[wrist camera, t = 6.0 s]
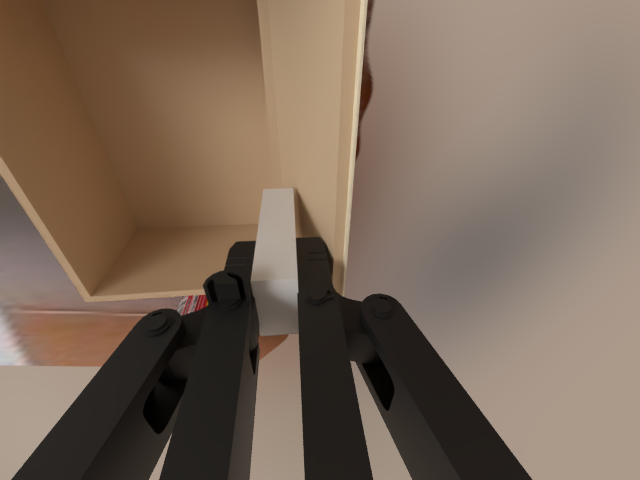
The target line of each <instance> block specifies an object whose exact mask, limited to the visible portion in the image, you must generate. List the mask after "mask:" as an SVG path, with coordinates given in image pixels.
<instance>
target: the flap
mask: <svg viewBox="0 0 640 480" xmlns="http://www.w3.org/2000/svg"><path fill="white" fill-rule="evenodd" d="M367 3H368V0H268V8H269V22H270V35H271V48H272V61H273V75H274V88H275V101H276V115H277V128H278V141H279V155H280V168H281V181H282V188H293V193H294V213H295V233H296V238H303V237H320V238H321V240H322V241H323V242H324V243H325V246H326V251H327V257H328V262H329V268H330V273H331V278H332V284H333V287H334V289H335V290H336V292H337V293H339V294H340V295H341V296H343V297H344V295H345V282H346V270H347V257H348V244H349V232H350V219H351V206H352V194H353V181H354V168H355V155H356V143H357V130H358V117H359V105H360V92H361V79H362V66H363V54H364V41H365V28H366V15H367Z"/></svg>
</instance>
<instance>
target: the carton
mask: <svg viewBox="0 0 640 480" xmlns="http://www.w3.org/2000/svg"><path fill="white" fill-rule="evenodd" d="M0 174H1V176H2V177H3V179H4V180H5V182H6V183H7V185H8V186H9V188H10V189H11V191H12V192H13V194H14V195H15V197H16V198H17V200H18V201H19V203H20V204H21V206H22V207H23V209H24V210H25V212H26V213H27V215H28V216H29V218H30V219H31V221H32V222H33V224H34V225H35V227H36V228H37V230H38V231H39V233H40V234H41V236H42V237H43V239H44V240H45V242H46V243H47V245H48V246H49V248H50V249H51V251H52V252H53V254H54V255H55V257H56V258H57V260H58V261H59V263H60V265H61V266H62V268H63V269H64V271H65V272H66V274H67V275H68V277H69V278H70V280H71V281H72V283H73V284H74V286H75V287H76V289H77V290H78V292H79V293H80V295H81V296H82V298H83V299H84V301H85V302H100V301H115V300H130V299H146V298H161V297H176V296H191V295H205V291H204V288H203V284H204V282H205V280H206V279H207V278H208V277H210V276H211V275H212V274H214V273H217V272H219V271H223V270H224V268H225V264H226V260H227V256H228V252H229V249H230V248H231V247H232V246H233V244H234V243H235V242H237V241H256V239H257V232H258V224H259V217H260V210H261V203H262V196H263V189H278V188H282V181H281V168H280V155H279V141H278V128H277V115H276V101H275V88H274V75H273V61H272V48H271V35H270V22H269V8H268V0H0Z"/></svg>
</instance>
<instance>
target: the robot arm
mask: <svg viewBox="0 0 640 480" xmlns="http://www.w3.org/2000/svg"><path fill="white" fill-rule="evenodd" d="M203 288H204V291H205V295H206V298H207V301H208V305H207V306H206V307H204V308H202V309H200V310H197V311H195V312H191V313H188V314H185V315H182V316H181V315H180V314H179V312H178V311H176V310H173V309H160V310H156V311H153V312H151V313H149V314H148V315H146V316H144V317H143V318H142V319H141V320H140V321H139V322H138V323H137V324H136V325H135V326H134V328H133V329H132V330H131V331H130V333H129V334H128V335H127V336H126V338H125V339H124V340H123V341H122V343H121V344H120V345H119V346H118V348H117V349H116V350H115V351H114V353H113V354H112V355H111V356H110V358H109V359H108V360H107V361H106V362H105V364H104V365H103V366H102V367H101V369H100V370H99V371H98V372H97V374H96V375H95V376H94V377H93V379H92V380H91V381H90V382H89V384H88V385H87V386H86V387H85V389H84V390H83V391H82V392H81V394H80V395H79V396H78V397H77V399H76V400H75V401H74V402H73V404H72V405H71V406H70V408H69V409H68V410H67V411H66V412H65V414H64V415H63V416H62V417H61V418H60V420H59V421H58V422H57V424H56V425H55V426H54V427H53V429H52V430H51V431H50V432H49V434H48V435H47V436H46V437H45V438H44V440H43V441H42V442H41V443H40V445H39V446H38V447H37V448H36V450H35V451H34V452H33V453H32V455H31V456H30V457H29V458H28V460H27V461H26V462H25V463H24V465H23V466H22V467H21V469H19V471H18V472H17V473H16V474H15V476H14V477H13V478H12V479H11V480H149V478H150V476H151V473H152V472H153V470H154V468H155V466H156V464H157V462H158V460H159V458H160V456H161V454H162V452H163V449H164V448H165V445H166V444H167V442H168V440H169V438H170V436H171V434H172V436H171V439H170V443H169V447H168V450H167V454H166V457H165V461H164V465H163V468H162V472H161V475H160V479H159V480H249V477H250V466H251V465H250V464H251V453H252V440H253V428H254V416H255V403H256V390H257V378H258V377H257V376H258V364H259V353H260V349H259V343H258V336H259V332H260V336H270V335H284V334H297V333H299V347H300V349H299V350H300V374H301V398H302V421H303V446H304V469H305V480H373V477H372V471H371V466H370V461H369V456H368V451H367V445H366V441H365V435H364V430H363V425H362V420H361V414H360V409H359V404H358V399H357V394H356V389H355V383H354V378H353V373H352V368H351V363H350V361H355V362H356V364H357V366H358V368H359V370H360V372H361V374H362V376H363V378H364V381H365V383H366V385H367V386H368V389H369V391H370V393H371V395H372V397H373V399H374V401H375V403H376V405H377V407H378V409H379V412H380V414H381V416H382V418H383V420H384V422H385V424H386V426H387V428H388V430H389V432H390V434H391V436H392V438H393V440H394V443H395V445H396V447H397V449H398V451H399V453H400V455H401V457H402V459H403V461H404V463H405V465H406V467H407V469H408V471H409V474H410V476H411V478H412V480H532V479H531V477H530V476H529V475H528V473H527V472H526V471H525V469H524V468H523V467H522V465H521V464H520V463H519V462H518V460H517V459H516V458H515V456H514V455H513V453H512V452H511V451H510V449H509V448H508V447H507V446H506V444H505V443H504V441H503V440H502V439H501V437H500V436H499V435H498V433H497V432H496V431H495V429H494V428H493V427H492V425H491V424H490V423H489V421H488V420H487V419H486V417H485V416H484V415H483V413H482V412H481V411H480V409H479V408H478V407H477V406H476V404H475V403H474V401H473V400H472V399H471V398H470V396H469V395H468V393H467V392H466V391H465V389H464V388H463V387H462V385H461V384H460V383H459V381H458V380H457V379H456V377H455V376H454V375H453V373H452V372H451V371H450V369H449V368H448V367H447V365H446V364H445V363H444V361H443V360H442V359H441V357H440V356H439V355H438V353H437V352H436V351H435V349H434V348H433V347H432V345H431V344H430V343H429V341H428V340H427V339H426V337H425V336H424V335H423V333H422V332H421V331H420V329H419V328H418V327H417V325H416V324H415V323H414V321H413V320H412V319H411V317H410V316H409V315H408V313H407V312H406V311H405V309H404V308H403V307H402V305H401V304H400V303H399V302H398V301H397V300H396V299H395V298H393V297H391V296H388V295H384V294H372V295H370V296H368V297H366V298H365V299H364V300H363V302H361V301H356V300H351V299H347V298H345V297H343V296H341V295H340V294H339V293H337V292H336V290H335V289H334V287H333V284H332V278H331V273H330V268H329V262H328V257H327V251H326V246H325V243H324V242H323V241H322V240H321V238H320V237H303V238H296V233H295V213H294V193H293V188H278V189H263V196H262V203H261V210H260V217H259V224H258V232H257V239H256V241H237V242H235V243H234V244H233V246H232V247H231V248H230V249H229V252H228V256H227V260H226V264H225V268H224V270H223V271H219V272H217V273H214V274H212V275H211V276H210V277H208V278H207V279H206V280H205V282H204V284H203Z"/></svg>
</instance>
